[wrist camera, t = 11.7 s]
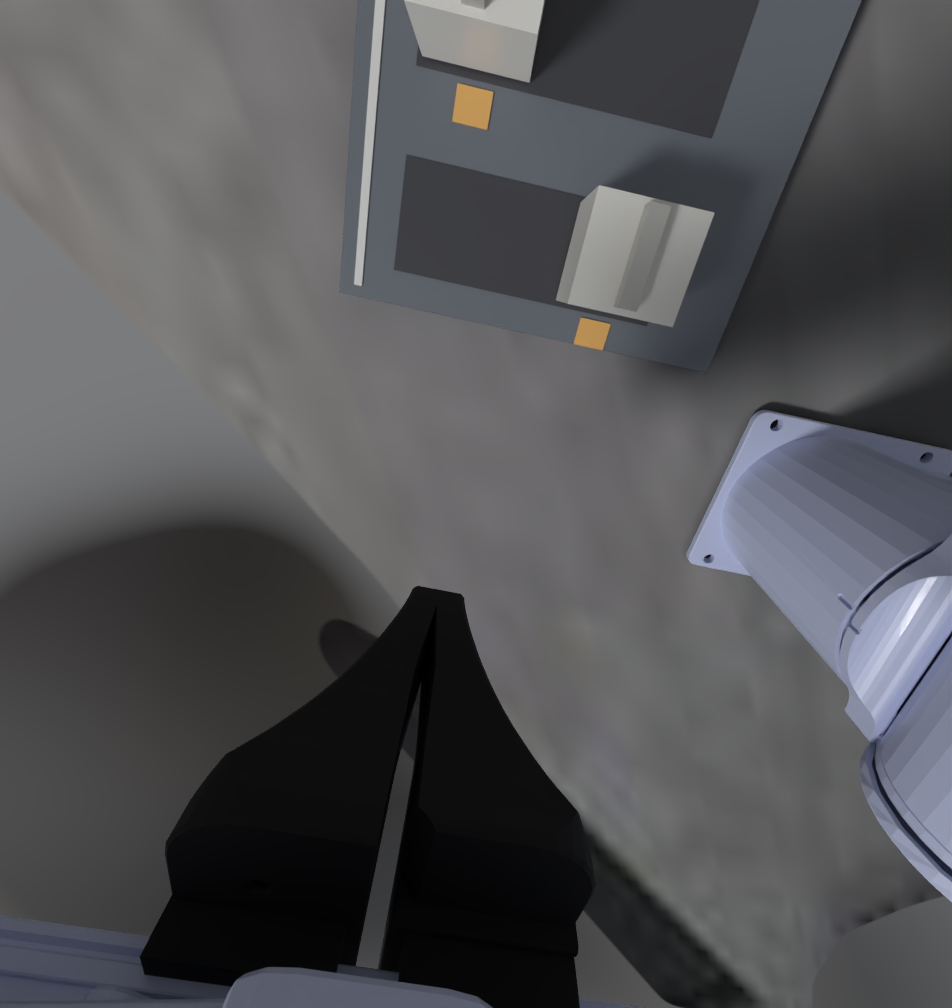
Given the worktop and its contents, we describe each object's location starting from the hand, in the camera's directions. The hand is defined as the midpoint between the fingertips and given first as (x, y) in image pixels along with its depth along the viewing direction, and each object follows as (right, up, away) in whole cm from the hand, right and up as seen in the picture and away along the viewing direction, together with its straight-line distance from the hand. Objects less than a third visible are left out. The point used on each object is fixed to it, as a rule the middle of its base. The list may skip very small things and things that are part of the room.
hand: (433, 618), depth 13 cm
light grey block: (+6, +12, +4) cm, 14 cm away
